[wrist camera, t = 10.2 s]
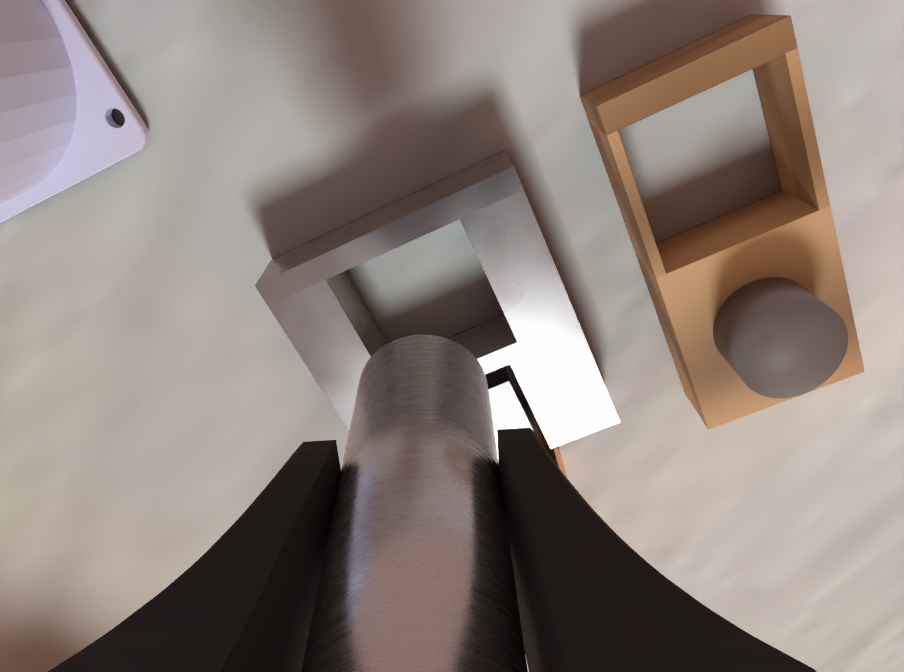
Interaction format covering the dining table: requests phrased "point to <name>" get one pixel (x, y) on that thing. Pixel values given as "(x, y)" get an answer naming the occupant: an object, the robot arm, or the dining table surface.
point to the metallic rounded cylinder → (418, 525)
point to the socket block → (492, 343)
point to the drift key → (514, 409)
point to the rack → (740, 235)
